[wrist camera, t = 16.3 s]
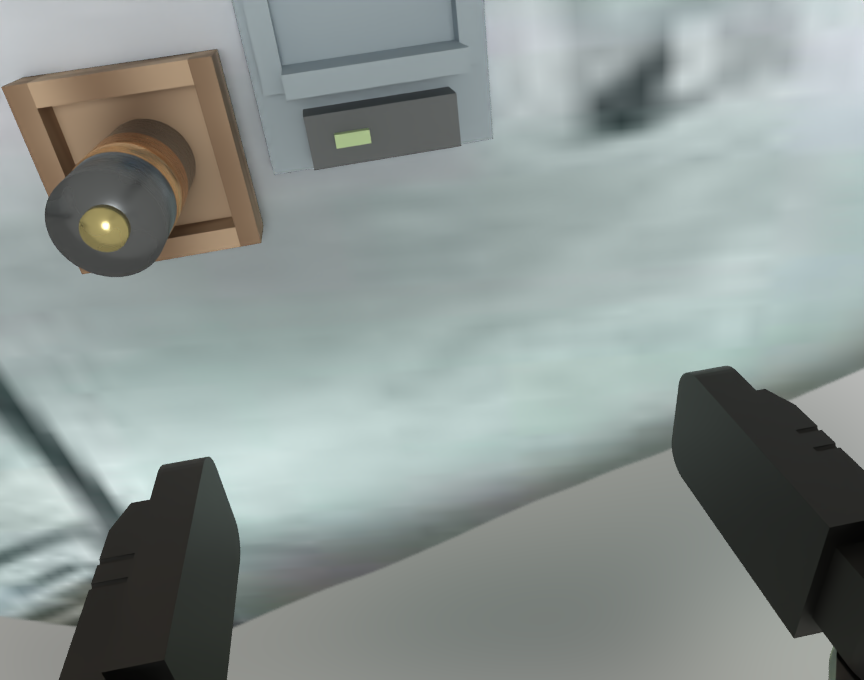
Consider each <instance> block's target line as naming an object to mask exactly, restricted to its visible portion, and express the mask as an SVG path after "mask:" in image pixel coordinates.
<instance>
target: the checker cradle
mask: <svg viewBox="0 0 864 680" xmlns="http://www.w3.org/2000/svg"><path fill="white" fill-rule="evenodd" d="M232 3H233V7H234V11H235V15H236V20H237V24H238V28H239V32H240V36H241V40H242V44H243V48H244V52H245V57H246V61H247V65H248V69H249V73H250V77H251V81H252V85H253V89H254V94H255V98H256V102H257V106H258V110H259V114H260V118H261V122H262V127H263V131H264V135H265V139H266V143H267V147H268V151H269V155H270V159H271V164H272V168H273V172H274V175H277V174H283V173H289V172H295V171H301V170H307V169H313V168H314V170H319V169H325V168H331V167H337V166H343V165H349V164H355V163H361V162H367V161H373V160H379V159H385V158H391V157H397V156H403V155H409V154H415V153H421V152H427V151H433V150H440V149H446V148H452V147H458V146H461V144H464V143H470V142H476V141H482V140H489V139H493V132H492V117H491V101H490V86H489V71H488V56H487V41H486V26H485V11H484V0H232Z"/></svg>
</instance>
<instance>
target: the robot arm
mask: <svg viewBox="0 0 864 680" xmlns="http://www.w3.org/2000/svg"><path fill="white" fill-rule="evenodd" d="M672 452H673V457H674V461H675V464H676V467H677V469H678V471H679V473H680V475H681V477H682V478H683V480H684V481H685V483H686V484H687V486H688V487H689V488H690V490H691V491H692V492H693V494H694V495H695V497H696V498H697V500H698V501H699V503H700V504H701V506H702V507H703V509H704V510H705V511H706V513H707V514H708V516H709V517H710V519H711V520H712V521H713V523H714V524H715V526H716V527H717V529H718V530H719V531H720V533H721V534H722V535H723V537H724V539H725V540H726V542H727V543H728V544H729V546H730V547H731V549H732V550H733V551H734V553H735V554H736V556H737V557H738V559H739V560H740V562H741V563H742V564H743V566H744V567H745V568H746V570H747V572H748V573H749V574H750V576H751V577H752V579H753V580H754V582H755V583H756V584H757V586H758V587H759V589H760V590H761V592H762V593H763V595H764V596H765V597H766V599H767V600H768V602H769V603H770V605H771V606H772V608H773V609H774V610H775V612H776V613H777V615H778V616H779V618H780V619H781V620H782V622H783V623H784V625H785V626H786V628H787V629H788V630H789V632H790V633H791V635H792V636H793V638H797V637H802V636H807V635H812V634H816V633H820V632H823V633H824V634H825V635H826V637H827V638H828V639H829V641H830V642H831V643H832V645H833V648H832V651H831V654H830V659H829V679H828V680H864V470H863V469H862V468H861V467H860V466H859V465H858V464H857V463H856V462H855V461H854V460H853V459H852V458H851V457H849V456H848V455H847V454H846V453H845V452H844V451H843V450H842V449H841V448H837V447H836V446H835V442H834V441H833V440H832V439H831V438H830V437H828V436H827V435H826V434H825V433H824V432H823V431H822V430H818V429H817V425H816V424H815V423H814V422H813V421H812V420H810V418H808V417H807V416H806V415H805V414H804V413H803V412H802V411H801V410H800V409H799V408H798V407H797V406H796V405H794V404H792V403H791V402H789V401H787V400H785V399H783V398H781V397H779V396H777V395H775V394H774V393H772V392H770V391H768V390H766V389H762V390H757V391H756V390H755V389H754V388H753V387H752V386H751V385H750V384H749V383H748V382H747V381H746V380H745V379H744V378H743V377H742V376H741V375H740V374H739V373H738V372H737V371H736V370H735V369H734V368H732V367H730V366H722V367H716V368H711V369H705V370H700V371H694V372H688V373H685V374H683V375H682V377H681V378H680V381H679V387H678V395H677V403H676V411H675V419H674V427H673V435H672ZM99 560H100V565H97V568H96V571H95V574H94V577H93V580H92V583H91V585H92V589H91V590H89V592H88V595H87V598H86V601H85V604H84V607H83V610H82V613H81V615H80V618H79V621H78V624H77V627H76V630H75V634H74V636H73V639H72V642H71V645H70V648H69V651H68V654H67V657H66V660H65V663H64V666H63V669H62V672H61V675H60V678H59V680H227V672H228V663H229V654H230V646H231V636H232V628H233V619H234V609H235V600H236V591H237V582H238V573H239V564H240V541H239V533H238V528H237V524H236V521H235V518H234V515H233V512H232V510H231V507H230V504H229V501H228V499H227V496H226V493H225V490H224V488H223V485H222V482H221V479H220V477H219V474H218V471H217V468H216V466H215V463H214V461H213V460H212V459H211V458H210V457H204V458H199V459H193V460H187V461H182V462H176V463H170V464H165V465H162V466H161V467H160V469H159V471H158V473H157V477H156V481H155V484H154V488H153V491H152V495H151V498H150V500H146V501H140V502H135V503H131V504H130V505H129V506H128V508H127V509H126V510H125V511H124V513H123V514H122V515H121V516H120V518H119V519H118V520H117V521H116V523H115V524H114V525H113V526H112V528H111V529H110V530H109V533H108V536H107V539H106V541H105V544H104V547H103V550H102V553H101V556H100V559H99Z"/></svg>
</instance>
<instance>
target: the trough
mask: <svg viewBox="0 0 864 680" xmlns="http://www.w3.org/2000/svg"><path fill="white" fill-rule="evenodd" d="M2 90H3V92H4V94H5V97H6V99H7V101H8V104H9V106H10V108H11V110H12V113H13V115H14V117H15V120H16V122H17V124H18V127H19V129H20V131H21V134H22V136H23V138H24V141H25V143H26V145H27V148H28V150H29V152H30V155H31V157H32V159H33V162H34V164H35V166H36V168H37V171H38V173H39V175H40V178H41V180H42V182H43V185H44V187H45V189H46V192H47V194H48V196H50V194H51V193H52V191H53V190H54V188H55V187H56V186H57V185H58V184H59V183H60V182H61V181H62V180H63V179H64V178H65V177H66V176H67V175H68V174H69V173H70V172H71V171H72V170H73V168H74V167H75V166H76V165H77V164H78V163H79V162H80V161H81V160H82V159H83V158H84V157H85V156H86V155H87V154H88V153H89V152H90V151H91V150H92V149H93V148H94V147H95V146H96V145H97V144H99V143H100V142H101V141H102V140H104V139H106V138H107V137H108V136H109V135H110V134H111V133H112V132H113V131H114V130H115V129H116V128H117V127H119V126H120V125H122V124H123V123H125V122H128V121H130V120H135V119H152V120H156V121H160V122H162V123H165V124H167V125H169V126H170V127H172V128H174V129H175V130H176V131H178V132H179V133H180V134H181V135H182V136H183V137H184V139H185V140H186V141H187V143H188V144H189V146H190V148H191V149H192V152H193V154H194V158H195V164H196V172H195V177H194V180H193V183H192V185H191V187H190V190H189V192H188V194H187V198H186V201H185V204H184V206H183V208H182V211H181V213H180V215H179V217H178V220H177V222H176V224H175V226H174V228H173V230H172V232H171V233H170V234H169V237H168V239H167V241H166V243H165V246H164V248H163V250H162V252H161V254H160V255H159V257H158V258H157V259H156V261H161V260H166V259H172V258H178V257H184V256H189V255H195V254H201V253H206V252H212V251H218V250H224V249H229V248H235V247H241V246H247V245H252V244H258V243H261V241H262V232H263V222H262V218H261V215H260V211H259V207H258V203H257V199H256V196H255V192H254V188H253V184H252V180H251V176H250V173H249V169H248V165H247V161H246V157H245V154H244V150H243V146H242V142H241V138H240V135H239V131H238V127H237V123H236V119H235V115H234V112H233V108H232V104H231V100H230V96H229V93H228V89H227V85H226V81H225V77H224V74H223V70H222V66H221V62H220V58H219V55H218V51H217V49H215V50H208V51H201V52H195V53H188V54H181V55H174V56H167V57H160V58H154V59H147V60H140V61H133V62H126V63H119V64H112V65H106V66H99V67H92V68H85V69H78V70H71V71H65V72H58V73H51V74H44V75H37V76H30V77H23V78H21V79H19V80H16V81H14V82H12V83H9V84H7V85H5V86H3V87H2ZM79 268H80V267H79ZM80 271H81V273H82V274H86V273H91V272H88V271H86V270H84V269H81V268H80Z"/></svg>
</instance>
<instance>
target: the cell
mask: <svg viewBox="0 0 864 680" xmlns="http://www.w3.org/2000/svg"><path fill="white" fill-rule="evenodd" d="M195 172H196V164H195V158H194V154H193V152H192V149H191V148H190V146H189V144H188V143H187V141H186V140H185V139H184V137H183V136H182V135H181V134H180V133H179V132H178V131H176V130H175V129H174V128H172V127H170V126H169V125H167V124H165V123H162V122H160V121H156V120H152V119H135V120H130V121H128V122H125V123H123V124H122V125H120V126H119V127H117V128H116V129H115V130H114V131H113V132H112V133H111V134H110V135H109V136H108V137H107V138H106V139H104V140H102V141H101V142H100V143H99V144H97V145H96V146H95V147H94V148H93V149H92V150H91V151H90V152H89V153H88V154H87V155H86V156H85V157H84V158H83V159H82V160H81V161H80V162H79V163H78V164H77V165H76V166H75V167H74V168H73V170H72V171H71V172H70V173H69V174H68V175H67V176H66V177H65V178H64V179H63V180H62V181H61V182H60V183H59V184H58V185H57V186H56V187H55V188H54V190H53V191H52V193H51V194H50V196H49V198H48V201H47V204H46V208H45V222H46V227H47V230H48V233H49V236H50V238H51V240H52V242H53V243H54V245H55V246H56V248H57V249H58V250H59V251H60V252H61V253H62V255H63V256H65V257H66V258H67V259H68V260H69V261H71V262H72V263H73V264H75V265H76V266H78V267H80V268H81V269H84V270H86V271H88V272H91V273H94V274H97V275H102V276H108V277H123V276H129V275H133V274H136V273H138V272H141V271H143V270H145V269H146V268H148V267H149V266H150V265H152V264H153V263H154V262H155V261H156V259H157V258H158V257H159V255H160V254H161V252H162V250H163V248H164V246H165V243H166V241H167V239H168V237H169V234H170V233H171V232H172V230H173V228H174V226H175V224H176V222H177V220H178V217H179V215H180V213H181V211H182V208H183V206H184V204H185V201H186V198H187V194H188V192H189V190H190V187H191V185H192V183H193V180H194V177H195Z"/></svg>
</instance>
